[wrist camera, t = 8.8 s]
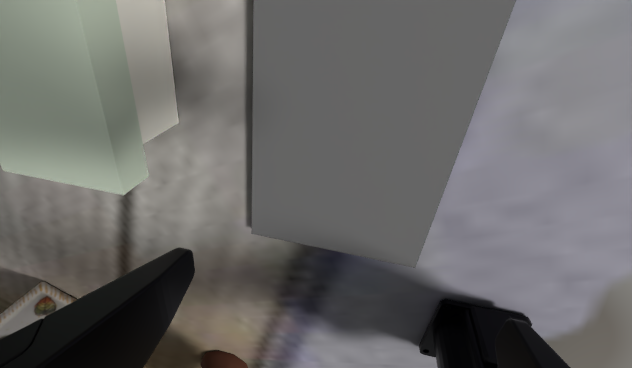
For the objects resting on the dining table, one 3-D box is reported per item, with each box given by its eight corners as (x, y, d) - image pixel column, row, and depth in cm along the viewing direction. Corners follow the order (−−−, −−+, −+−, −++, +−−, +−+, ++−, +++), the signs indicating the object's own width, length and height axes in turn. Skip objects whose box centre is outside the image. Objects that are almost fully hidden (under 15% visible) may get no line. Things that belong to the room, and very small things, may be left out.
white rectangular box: (178, 123, 21) (132, 150, 17) (100, 108, 21) (38, 132, 17) (153, -99, 15) (74, -133, 11) (47, -110, 16) (-62, -146, 12)
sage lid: (148, 176, 18) (123, 195, 16) (38, 154, 18) (3, 170, 16) (78, -196, 10) (18, -236, 9) (-99, -209, 11) (-187, -247, 9)
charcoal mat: (414, 261, 23) (415, 267, 22) (254, 228, 24) (251, 233, 24) (527, -43, 14) (533, -45, 13) (258, -73, 15) (254, -76, 14)
